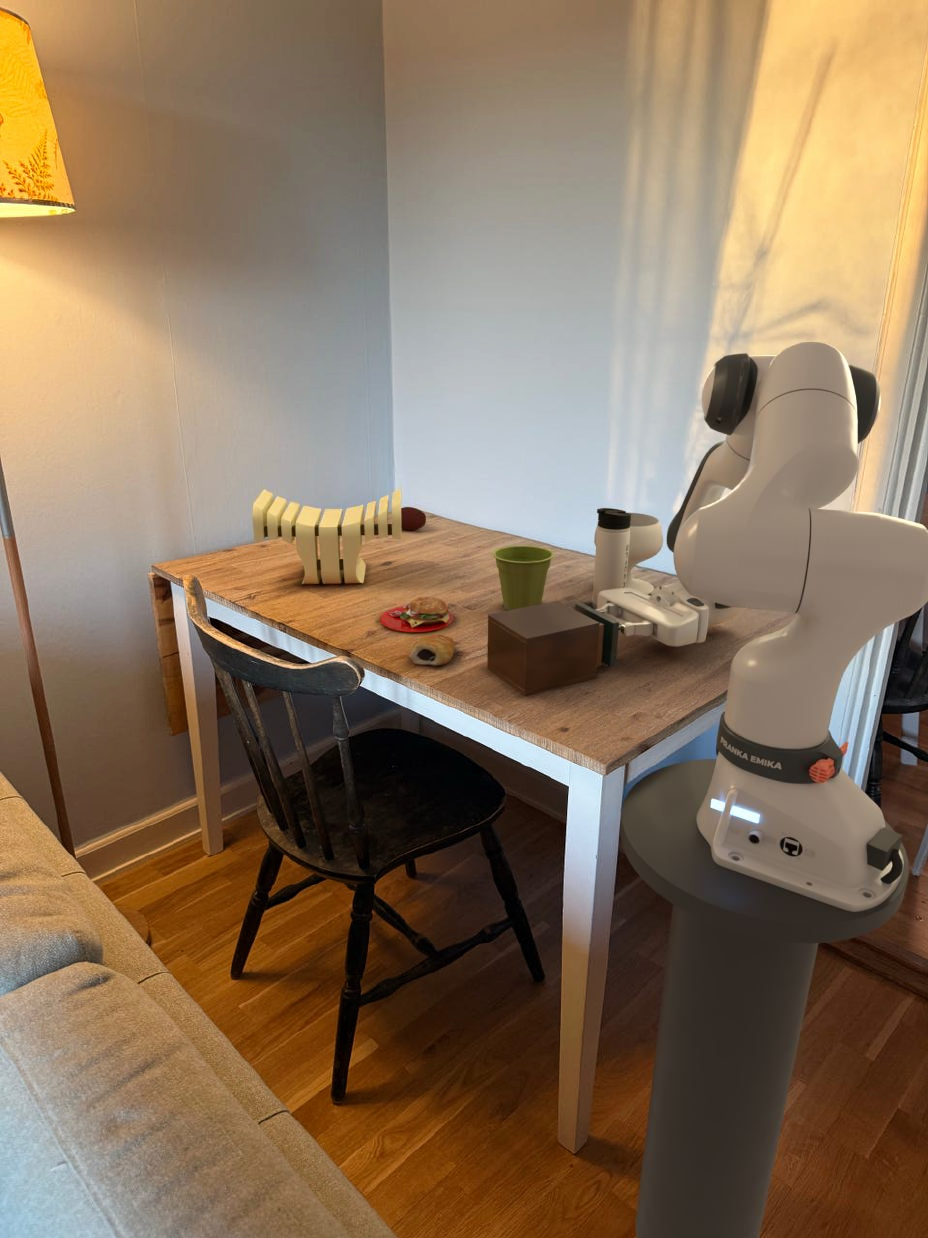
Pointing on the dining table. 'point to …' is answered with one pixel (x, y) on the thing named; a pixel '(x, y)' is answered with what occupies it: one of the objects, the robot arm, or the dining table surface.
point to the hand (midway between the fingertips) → (609, 623)
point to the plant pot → (522, 574)
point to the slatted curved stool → (326, 534)
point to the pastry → (433, 650)
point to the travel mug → (611, 551)
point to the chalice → (642, 546)
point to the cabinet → (542, 647)
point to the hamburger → (418, 615)
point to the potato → (412, 518)
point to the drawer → (604, 633)
